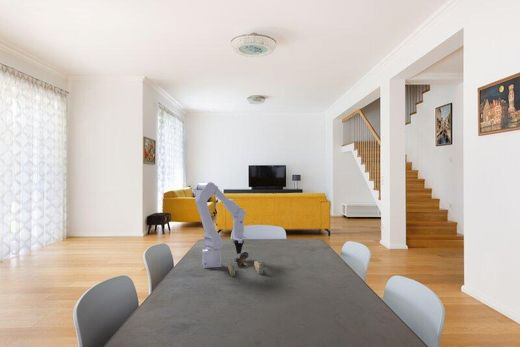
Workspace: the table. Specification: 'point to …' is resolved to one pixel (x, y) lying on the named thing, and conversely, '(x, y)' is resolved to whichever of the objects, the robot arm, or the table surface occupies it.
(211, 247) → the robot arm
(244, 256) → the eagle figurine
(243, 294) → the table surface
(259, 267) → the wooden matchsticks
